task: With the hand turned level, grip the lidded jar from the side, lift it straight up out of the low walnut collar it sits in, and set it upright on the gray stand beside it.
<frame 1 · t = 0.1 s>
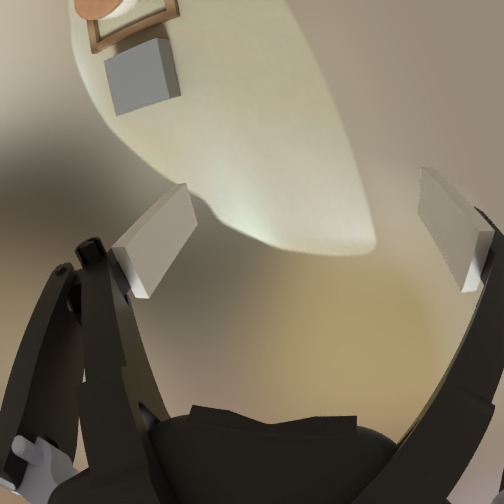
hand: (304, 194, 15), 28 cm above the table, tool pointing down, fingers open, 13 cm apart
gray stand: (147, 76, 37), on the table
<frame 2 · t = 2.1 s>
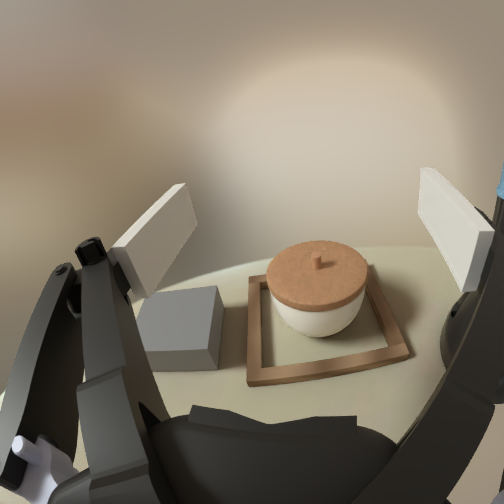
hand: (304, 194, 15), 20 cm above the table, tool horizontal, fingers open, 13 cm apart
gray stand: (183, 338, 34), on the table
walnut collar: (319, 317, 33), on the table
lidded jar: (319, 319, 33), resting in walnut collar
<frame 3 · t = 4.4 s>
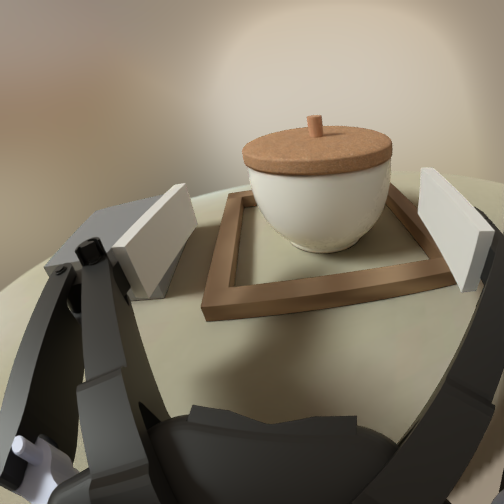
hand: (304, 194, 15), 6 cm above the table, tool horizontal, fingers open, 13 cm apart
gray stand: (129, 264, 24), on the table
walnut collar: (324, 231, 23), on the table
lidded jar: (324, 234, 23), resting in walnut collar
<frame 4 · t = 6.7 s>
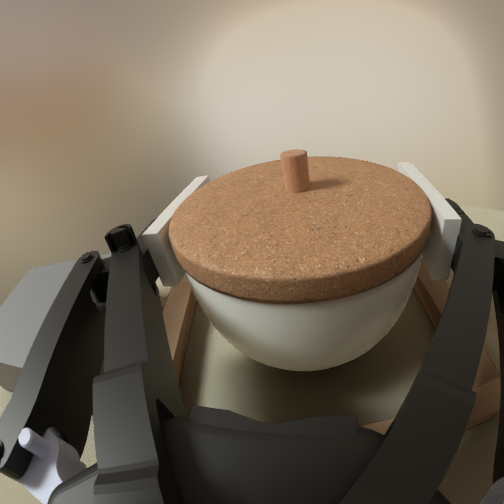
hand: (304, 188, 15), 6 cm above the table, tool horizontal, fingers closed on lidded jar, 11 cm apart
gray stand: (64, 345, 16), on the table
walnut collar: (309, 322, 15), on the table
lidded jar: (309, 325, 16), resting in walnut collar, touching gripper
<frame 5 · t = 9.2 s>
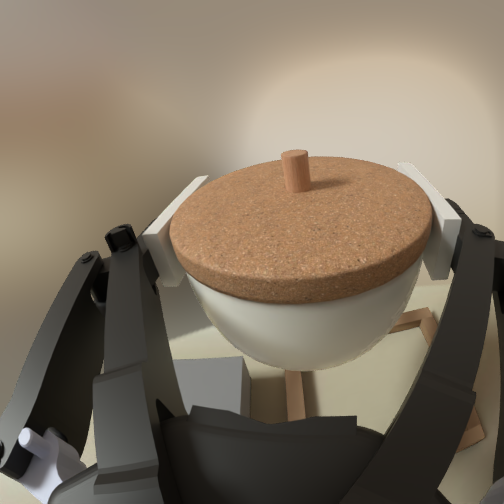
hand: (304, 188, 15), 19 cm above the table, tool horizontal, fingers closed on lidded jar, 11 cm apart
gray stand: (197, 422, 23), on the table
walnut collar: (378, 394, 22), on the table
lidded jar: (309, 325, 16), point 12 cm above the table, touching gripper
when the fingers open (11 cm above the table, at t = 12.1 s): lidded jar drops 1 cm, resting on gray stand.
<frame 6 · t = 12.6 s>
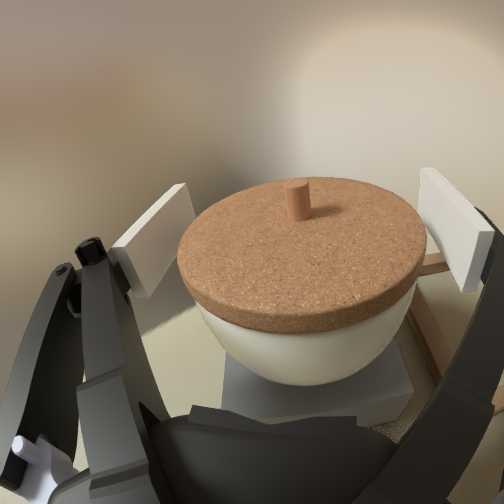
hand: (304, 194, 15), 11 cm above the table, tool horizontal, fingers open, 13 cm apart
gray stand: (311, 371, 18), on the table
walnut collar: (492, 315, 17), on the table
lidded jar: (310, 339, 16), point 4 cm above the table, touching gray stand
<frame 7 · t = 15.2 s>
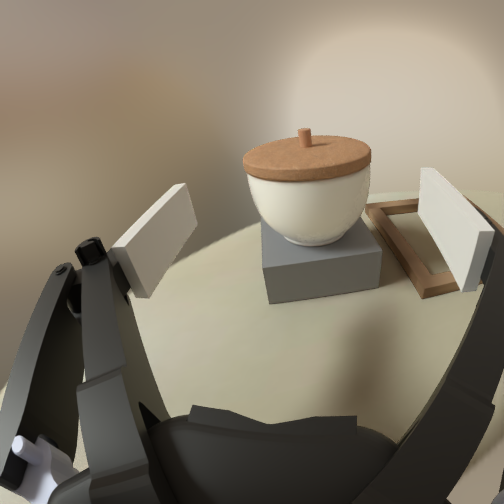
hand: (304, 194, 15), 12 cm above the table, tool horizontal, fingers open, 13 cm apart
gray stand: (316, 263, 29), on the table
walnut collar: (449, 237, 28), on the table
lidded jar: (314, 230, 26), point 4 cm above the table, touching gray stand
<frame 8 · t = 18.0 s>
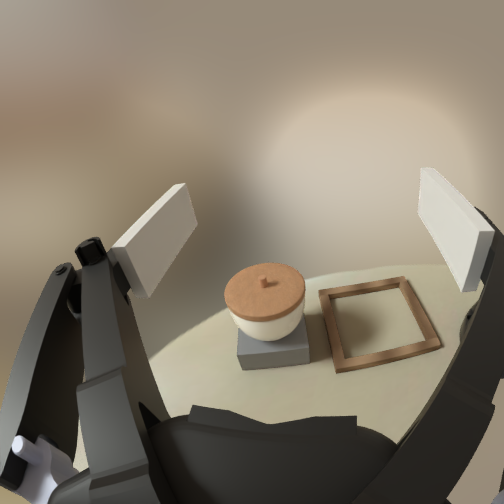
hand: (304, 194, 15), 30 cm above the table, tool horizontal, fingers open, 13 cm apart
gray stand: (274, 341, 44), on the table
walnut collar: (376, 321, 43), on the table
lidded jar: (271, 326, 42), point 4 cm above the table, touching gray stand
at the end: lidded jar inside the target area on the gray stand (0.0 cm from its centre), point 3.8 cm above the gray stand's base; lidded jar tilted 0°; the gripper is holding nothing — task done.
